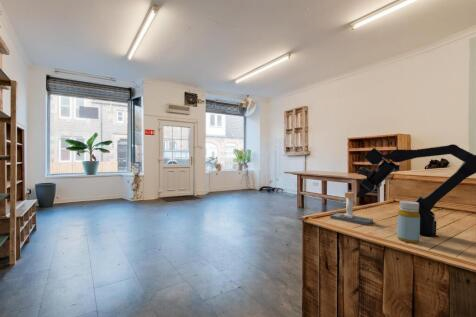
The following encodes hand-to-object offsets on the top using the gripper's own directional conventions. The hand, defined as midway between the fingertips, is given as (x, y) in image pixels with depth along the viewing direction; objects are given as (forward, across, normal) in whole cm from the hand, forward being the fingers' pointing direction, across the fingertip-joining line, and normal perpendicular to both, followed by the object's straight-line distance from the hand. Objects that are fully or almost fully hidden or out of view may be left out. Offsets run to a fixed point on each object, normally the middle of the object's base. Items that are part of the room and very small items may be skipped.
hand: (359, 195), depth 118 cm
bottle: (-2, +15, +25) cm, 29 cm away
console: (+13, -2, +5) cm, 14 cm away
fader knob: (+12, -2, +3) cm, 13 cm away
